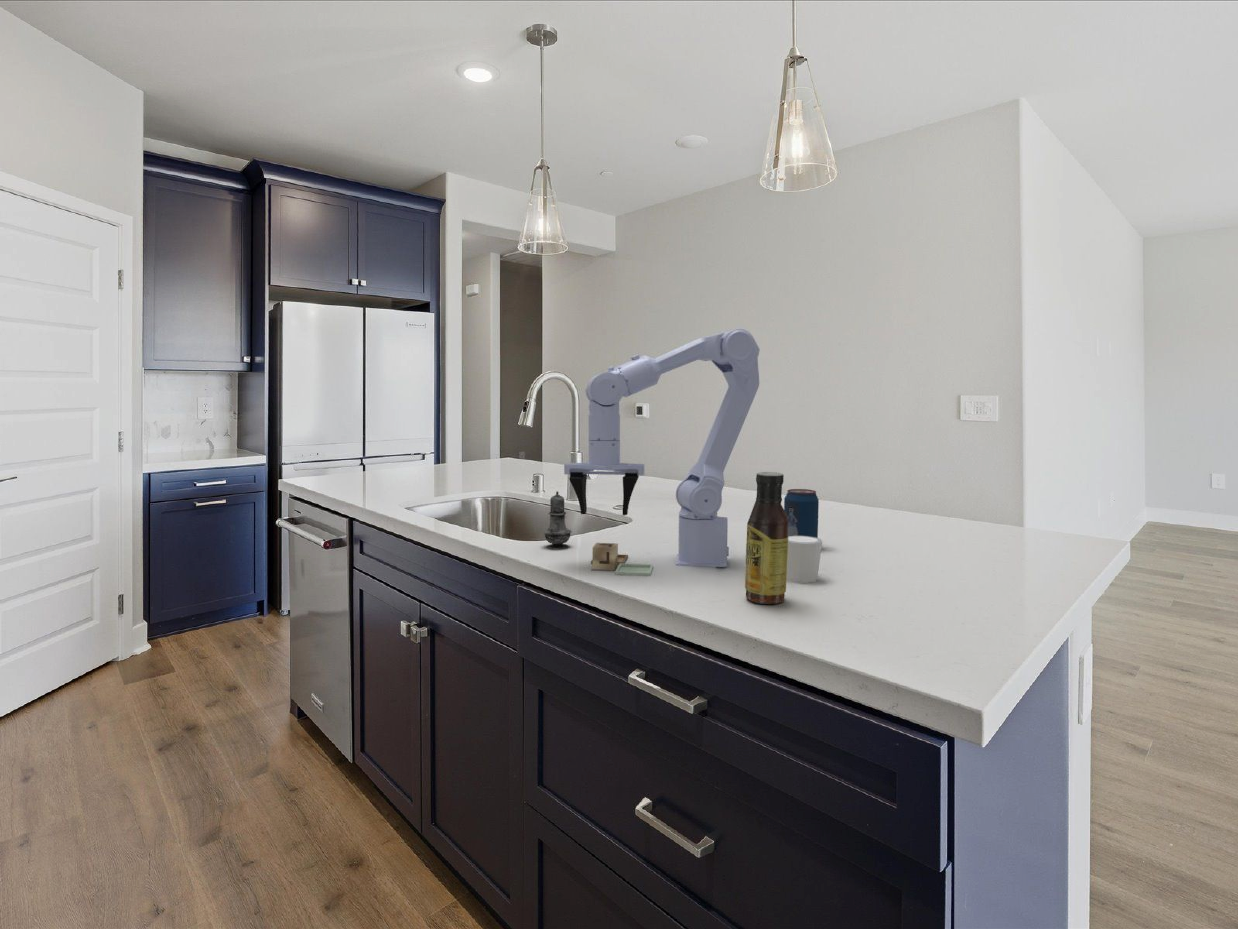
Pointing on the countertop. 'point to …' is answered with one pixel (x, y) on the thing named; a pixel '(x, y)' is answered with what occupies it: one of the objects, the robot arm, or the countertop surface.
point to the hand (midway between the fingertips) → (604, 513)
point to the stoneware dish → (634, 569)
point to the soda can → (802, 512)
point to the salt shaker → (557, 524)
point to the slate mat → (603, 570)
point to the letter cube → (605, 556)
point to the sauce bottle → (767, 542)
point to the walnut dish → (619, 559)
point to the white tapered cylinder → (803, 558)
